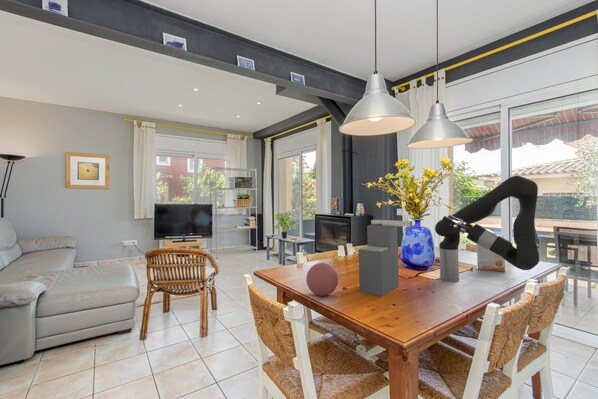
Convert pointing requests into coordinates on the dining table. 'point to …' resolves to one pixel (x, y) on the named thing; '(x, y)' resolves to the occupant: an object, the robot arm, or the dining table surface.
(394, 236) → the stepped shelf
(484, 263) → the cracker box
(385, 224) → the flanged bar
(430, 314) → the dining table surface
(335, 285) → the mauve oval ball
